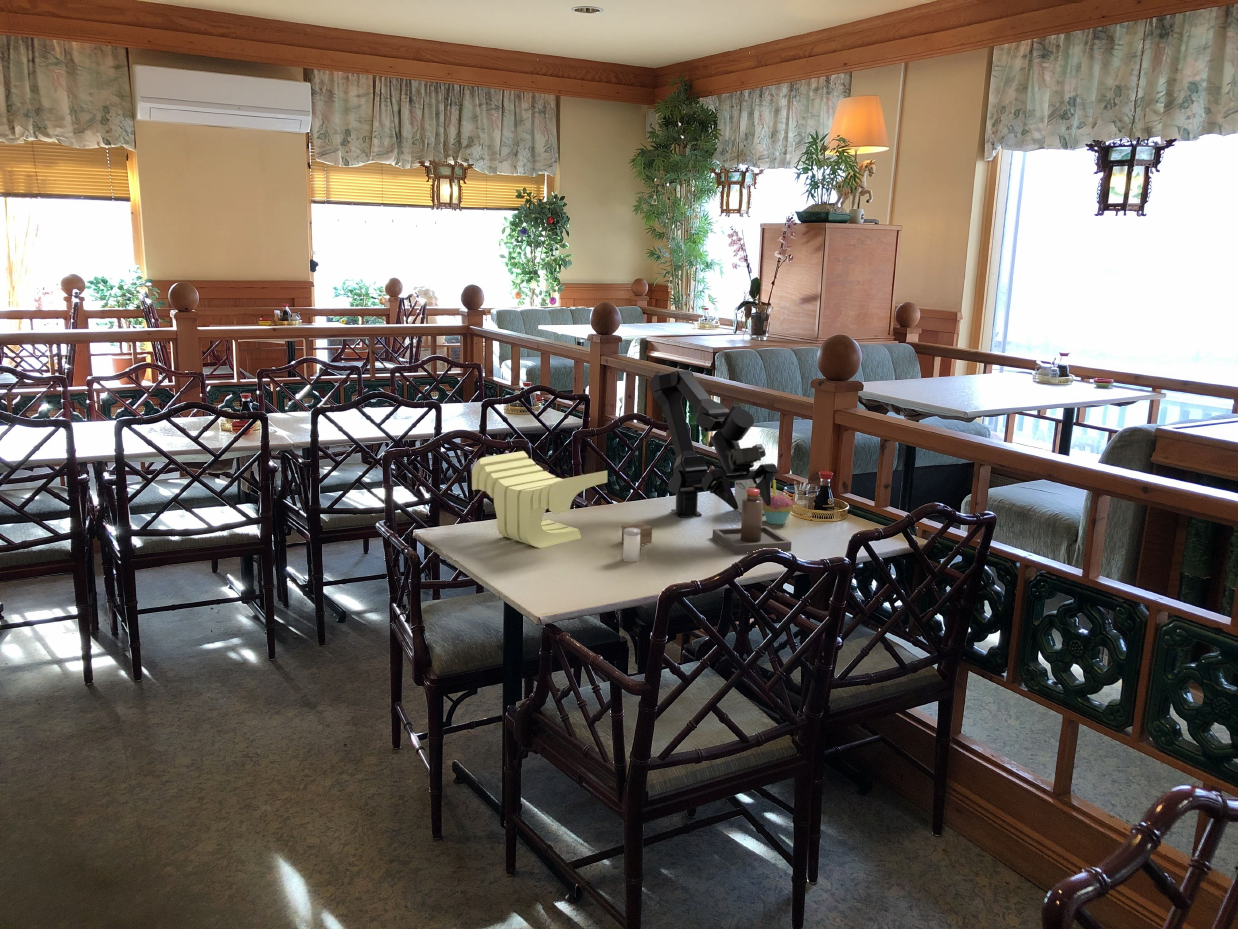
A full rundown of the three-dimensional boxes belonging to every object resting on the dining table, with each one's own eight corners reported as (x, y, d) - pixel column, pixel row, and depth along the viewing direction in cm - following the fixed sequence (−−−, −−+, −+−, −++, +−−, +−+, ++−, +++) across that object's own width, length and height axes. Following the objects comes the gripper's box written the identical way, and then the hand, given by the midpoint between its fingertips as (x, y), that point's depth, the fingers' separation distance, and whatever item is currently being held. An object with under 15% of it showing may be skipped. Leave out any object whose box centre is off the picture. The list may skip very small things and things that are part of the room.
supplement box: (733, 509, 260) (734, 463, 257) (758, 507, 262) (760, 461, 260) (744, 516, 253) (746, 468, 251) (770, 514, 255) (772, 467, 253)
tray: (712, 537, 233) (712, 529, 232) (766, 533, 237) (766, 526, 236) (734, 554, 220) (734, 545, 219) (791, 550, 223) (791, 542, 223)
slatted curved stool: (472, 531, 235) (471, 459, 231) (523, 519, 246) (523, 451, 242) (554, 559, 214) (554, 480, 210) (606, 545, 225) (607, 470, 221)
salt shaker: (621, 557, 216) (622, 528, 214) (636, 556, 217) (637, 527, 215) (625, 562, 212) (626, 532, 211) (641, 561, 213) (642, 531, 212)
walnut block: (621, 541, 228) (622, 525, 228) (638, 538, 231) (638, 522, 231) (634, 546, 225) (635, 530, 224) (651, 543, 228) (652, 527, 227)
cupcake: (782, 528, 242) (785, 481, 240) (752, 522, 247) (754, 476, 245) (798, 521, 249) (800, 475, 246) (769, 515, 254) (771, 471, 251)
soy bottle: (736, 539, 228) (738, 489, 225) (748, 535, 231) (750, 486, 229) (753, 543, 225) (756, 493, 222) (765, 539, 228) (767, 489, 226)
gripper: (710, 435, 223) (734, 492, 216) (776, 430, 231) (802, 485, 224) (691, 462, 231) (714, 518, 224) (755, 456, 240) (779, 510, 233)
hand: (753, 507), depth 226 cm, fingers open, 9 cm apart
